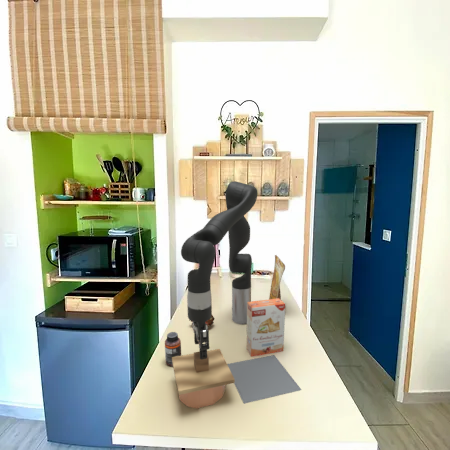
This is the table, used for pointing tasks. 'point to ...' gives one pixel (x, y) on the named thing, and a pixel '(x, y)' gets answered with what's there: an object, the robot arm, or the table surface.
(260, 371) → the mat
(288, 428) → the table surface
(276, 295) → the pancake mix bag
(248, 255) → the robot arm
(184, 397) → the bowl
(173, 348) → the supplement bottle
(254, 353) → the cracker box
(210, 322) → the dragon fruit
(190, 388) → the board
